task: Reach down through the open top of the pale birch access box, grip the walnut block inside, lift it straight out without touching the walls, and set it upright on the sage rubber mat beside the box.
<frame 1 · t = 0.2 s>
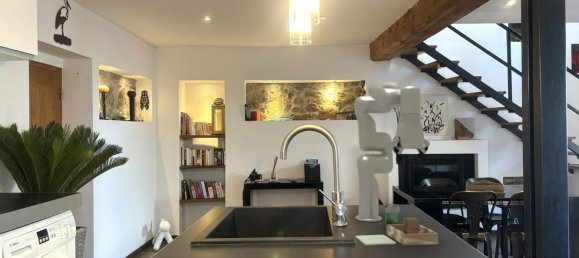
hand: (410, 164, 153), 30 cm above the worktop, tool pointing down, fingers open, 9 cm apart
food container: (392, 229, 177), on the worktop
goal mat: (375, 240, 157), on the worktop
walnut block: (411, 229, 160), in the access box
access box: (411, 239, 160), on the worktop
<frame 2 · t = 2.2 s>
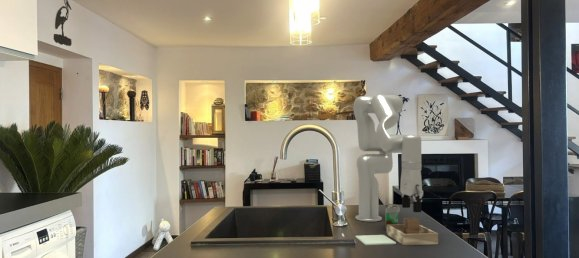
hand: (411, 209, 160), 12 cm above the worktop, tool pointing down, fingers open, 9 cm apart
nothing on the worktop moved.
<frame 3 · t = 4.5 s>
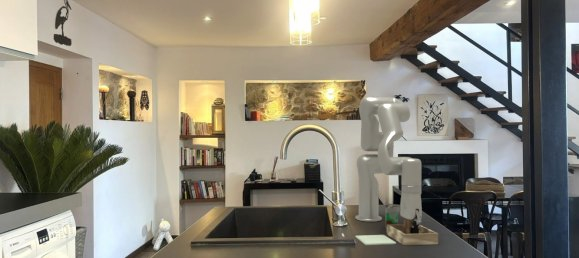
hand: (411, 235, 160), 1 cm above the worktop, tool pointing down, fingers closed on walnut block, 4 cm apart
walnut block: (411, 228, 160), in the access box, touching gripper
everything else where it was.
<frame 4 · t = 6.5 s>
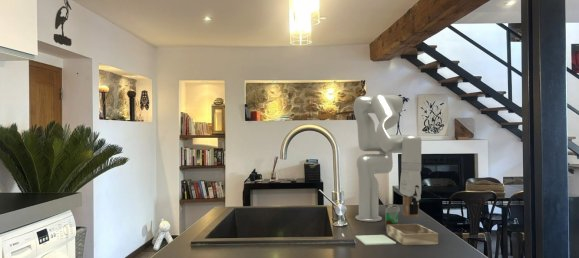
hand: (410, 212, 160), 10 cm above the worktop, tool pointing down, fingers closed on walnut block, 4 cm apart
walnut block: (410, 206, 160), point 13 cm above the worktop, touching gripper
everything else where it was.
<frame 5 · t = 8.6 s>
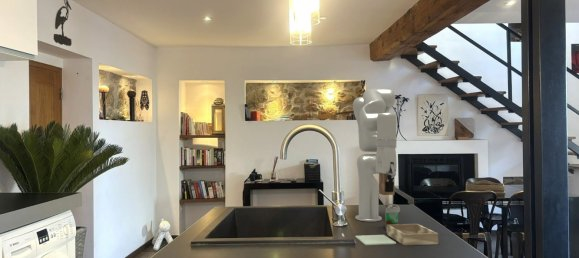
hand: (386, 190, 158), 19 cm above the worktop, tool pointing down, fingers closed on walnut block, 4 cm apart
walnut block: (386, 183, 158), point 22 cm above the worktop, touching gripper
everything else where it was.
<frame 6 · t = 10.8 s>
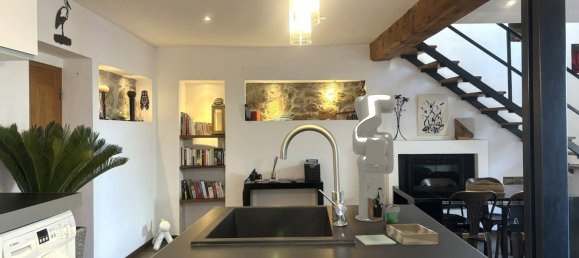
hand: (375, 215, 157), 10 cm above the worktop, tool pointing down, fingers closed on walnut block, 4 cm apart
walnut block: (375, 208, 157), point 12 cm above the worktop, touching gripper
everything else where it was.
when the fingers open (3 cm above the worktop, at t = 12.8 s): walnut block drops 1 cm, resting on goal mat.
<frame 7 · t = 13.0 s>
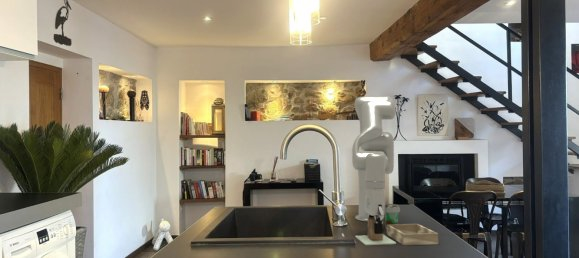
hand: (375, 230, 157), 4 cm above the worktop, tool pointing down, fingers open, 6 cm apart
walnut block: (375, 228, 157), on the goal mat
everything else where it was.
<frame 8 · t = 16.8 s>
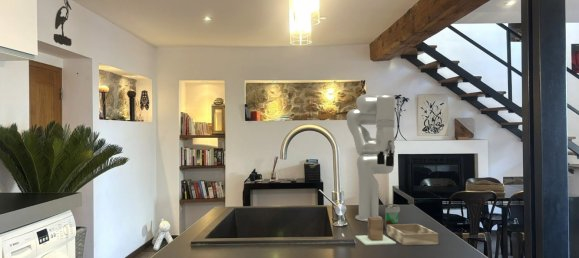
hand: (385, 165, 171), 28 cm above the worktop, tool pointing down, fingers open, 9 cm apart
nothing on the worktop moved.
at the end: walnut block inside the target area on the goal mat (0.0 cm from its centre), point 4.5 cm above the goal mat's base; walnut block tilted 0°; walnut block touching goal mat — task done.
